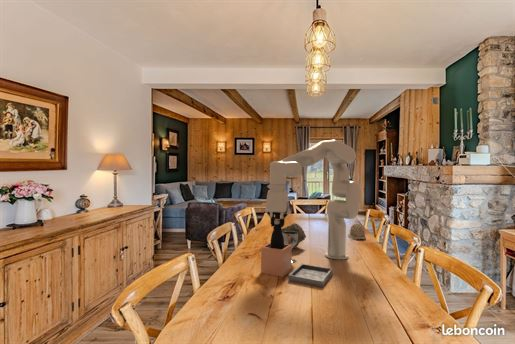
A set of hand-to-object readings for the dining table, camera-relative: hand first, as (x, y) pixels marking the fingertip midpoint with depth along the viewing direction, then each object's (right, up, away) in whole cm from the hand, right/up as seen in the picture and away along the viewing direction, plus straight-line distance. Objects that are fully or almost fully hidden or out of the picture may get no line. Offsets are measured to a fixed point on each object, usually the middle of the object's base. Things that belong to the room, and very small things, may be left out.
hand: (277, 226), depth 144 cm
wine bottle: (0, -21, +1) cm, 21 cm away
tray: (+15, -22, -7) cm, 27 cm away
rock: (+9, -21, +40) cm, 46 cm away
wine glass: (+8, -21, +16) cm, 28 cm away
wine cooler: (0, -21, 0) cm, 21 cm away
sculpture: (+62, -21, +74) cm, 98 cm away
